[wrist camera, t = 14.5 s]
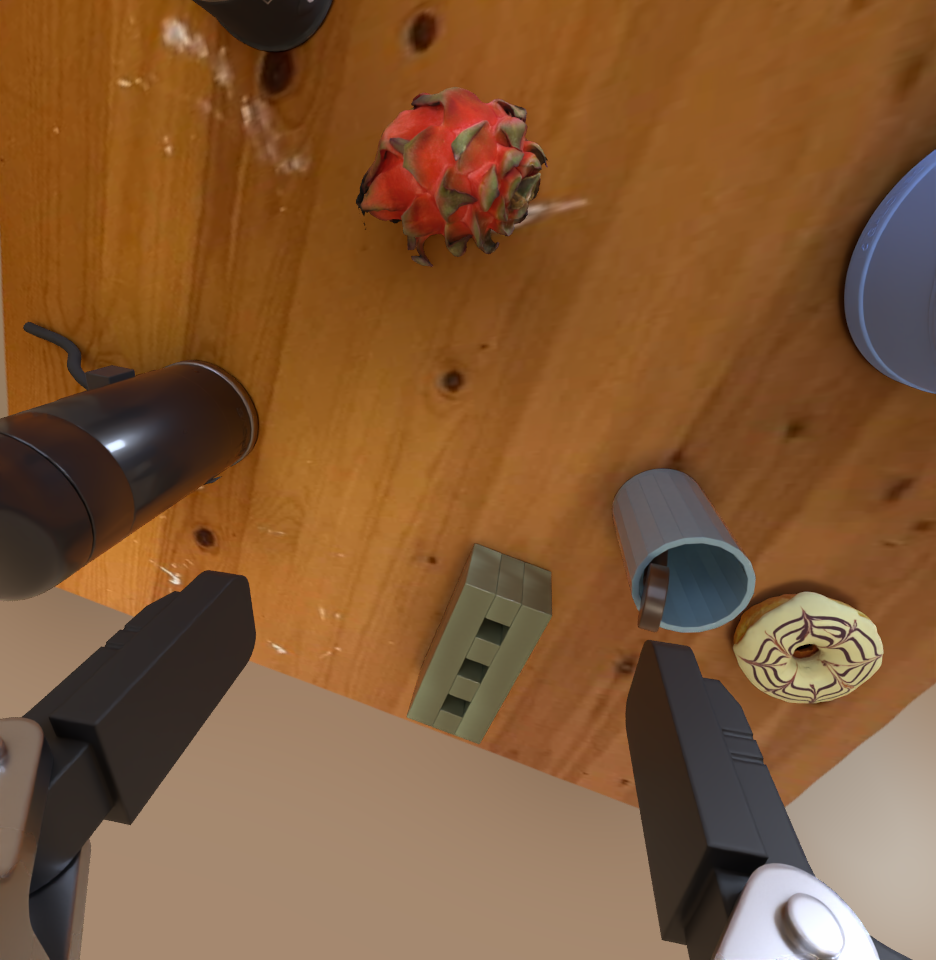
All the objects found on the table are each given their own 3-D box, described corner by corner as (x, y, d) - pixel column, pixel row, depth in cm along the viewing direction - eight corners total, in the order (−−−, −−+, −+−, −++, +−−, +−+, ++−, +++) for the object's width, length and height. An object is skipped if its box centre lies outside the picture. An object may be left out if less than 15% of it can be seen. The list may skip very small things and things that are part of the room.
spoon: (664, 537, 40) (657, 647, 29) (646, 533, 41) (632, 640, 29) (675, 494, 39) (672, 592, 27) (656, 490, 39) (645, 585, 28)
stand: (420, 668, 52) (406, 717, 46) (474, 542, 44) (465, 583, 39) (486, 693, 52) (479, 744, 47) (551, 571, 45) (552, 616, 39)
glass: (601, 536, 42) (617, 618, 33) (627, 459, 39) (653, 526, 30) (686, 555, 42) (727, 643, 33) (719, 478, 39) (775, 552, 29)
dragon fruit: (562, 185, 33) (400, 214, 37) (544, 29, 26) (347, 83, 30) (552, 271, 29) (373, 293, 33) (529, 115, 22) (304, 165, 26)
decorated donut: (792, 562, 41) (814, 590, 37) (891, 624, 42) (922, 656, 39) (703, 639, 45) (716, 671, 42) (795, 694, 46) (815, 729, 43)
